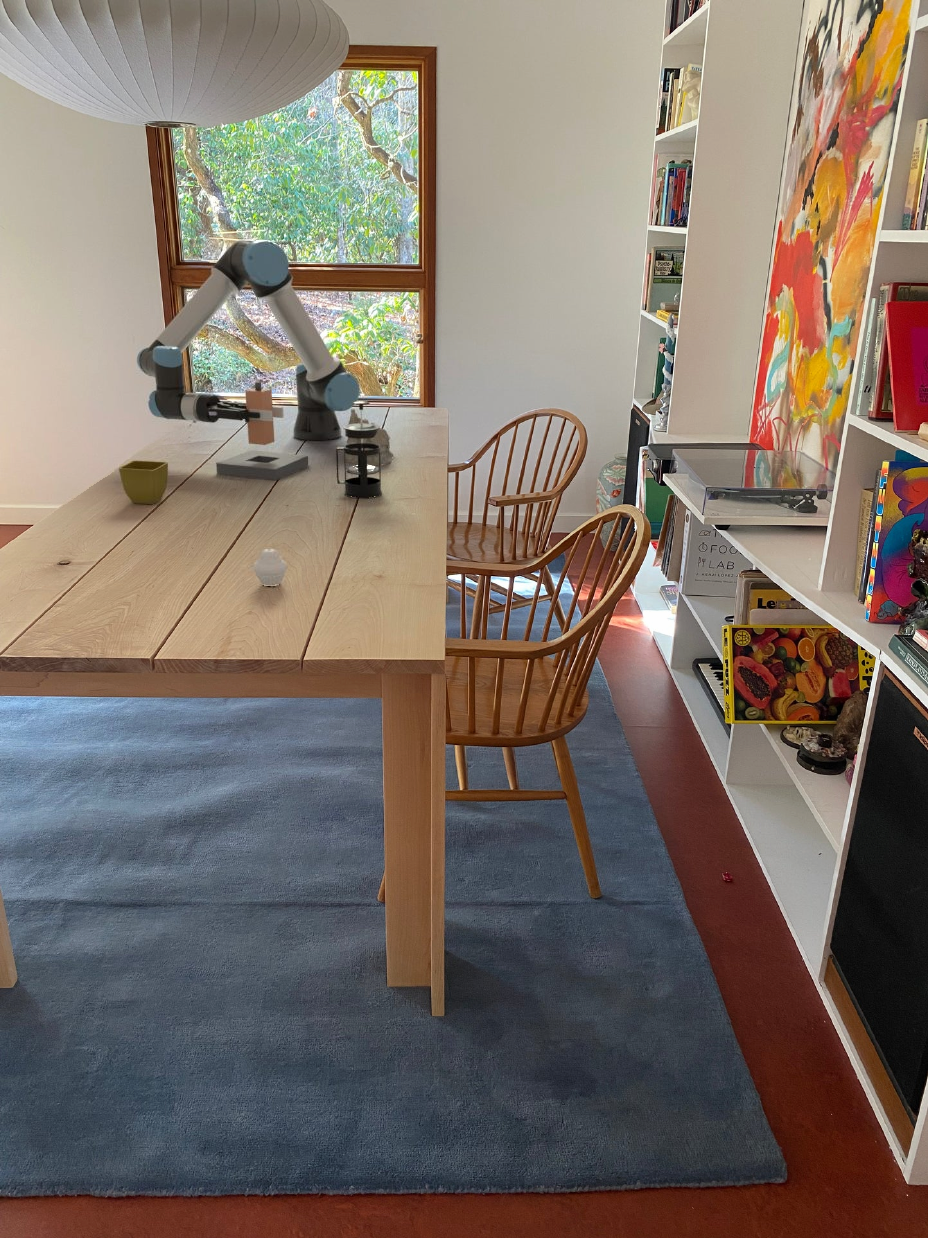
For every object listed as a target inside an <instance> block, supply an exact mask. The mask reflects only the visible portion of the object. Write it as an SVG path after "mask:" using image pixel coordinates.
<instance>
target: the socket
mask: <svg viewBox="0 0 928 1238" xmlns="http://www.w3.org/2000/svg"><path fill="white" fill-rule="evenodd" d="M215 466H216V473H217V474H216V475H221V476H223V475H224V476H233V477H241V478H250V479H258V478H261V479H260V480H266V481H267V480H268V481H279V480H280V478H281V479H283V478H285V477H287V476H290V475H292V474H294V473H296V471H297V472H299V471H301V470H303V469H304V470H305V469H306V468H307V466H308V467H309V455H305V454H304V455H303V454H296V453H295V454H293V453H285V452H275V451H274V452H273V451H265V450H264V451H262V450H255V449H254V450H253V449H250V450H249V451H246V452H243V453H240V454H237V455H235V456H232V457H229V458H227V459H224V460H221V461H218V462H216V463H215Z"/></svg>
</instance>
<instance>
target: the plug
mask: <svg viewBox="0 0 928 1238" xmlns="http://www.w3.org/2000/svg"><path fill="white" fill-rule="evenodd" d="M244 392H245V403H246V409H247V410H248V412H249V409H258V410H270V411H272V414H273V407H274V406H273V393H272V389H267V388H262V382H261V381H257V382H256V381H255V382H254V388H251V389H247V390H245V391H244ZM246 424H247V436H248V444H250V445H260V446H266V445H268V444H272V443H275V429H274V428H275V427H274V425H275V424H274V420H273V421H261V420H250V418H249V422H246Z"/></svg>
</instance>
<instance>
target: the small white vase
mask: <svg viewBox="0 0 928 1238" xmlns="http://www.w3.org/2000/svg"><path fill="white" fill-rule="evenodd" d="M252 568H253V571H254V572H255V576H256V578H257V579H258V580H259V582H260V584H261V585H262V584H265V585H275V584H279V583H280V584H282V581H283V580H284V577H285V575H286V572H287V569H288V564H287V562H286V561H285V560H284V559H283V558H282V557H281V556H280V552H279V551H278V550H276V549H275V548H274V549H273V548H268V549H267V548H266V549H263V550H261V551H260V553H259V557H257V560H256V561H255V562H254V563H253V565H252Z"/></svg>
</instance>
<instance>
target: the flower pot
mask: <svg viewBox="0 0 928 1238" xmlns="http://www.w3.org/2000/svg"><path fill="white" fill-rule="evenodd" d="M118 471H119V474H120V480H121V483H122V487H123V490H124V493H125V494H126V497H128V498H129V501H131V502H132V503H133V504H142V505H143V504H146V505H154V504H155V503H158V502H159V501H161V500H162V498H163V496H164V494H165V492H166V489H167V486H168V485H167V484H168V474H169V473H168V471H169V462H168V461H156V460H155V461H154V460H153V461H152V460H131V461H129V462H128V463H126V464H124V465H122V466H120V467H119V468H118Z"/></svg>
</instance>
